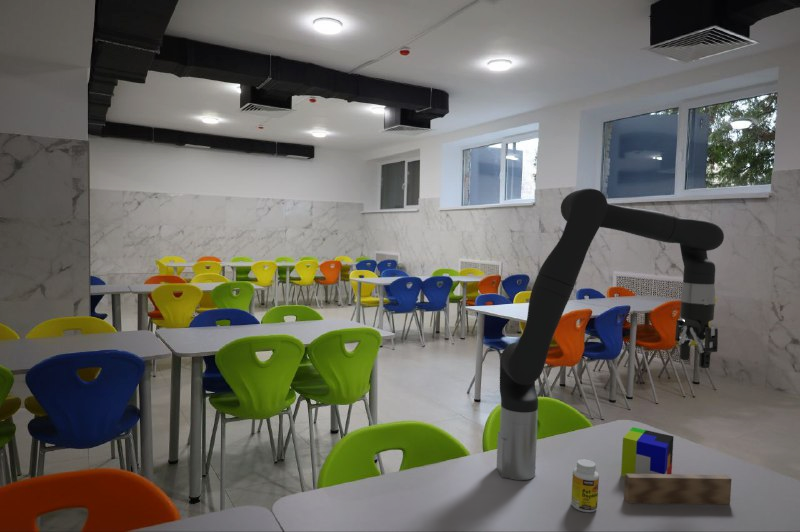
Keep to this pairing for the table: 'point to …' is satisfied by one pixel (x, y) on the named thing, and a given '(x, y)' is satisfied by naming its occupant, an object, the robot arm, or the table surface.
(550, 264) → the robot arm
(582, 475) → the supplement bottle
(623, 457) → the puzzle toy
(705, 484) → the board
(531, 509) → the table surface
